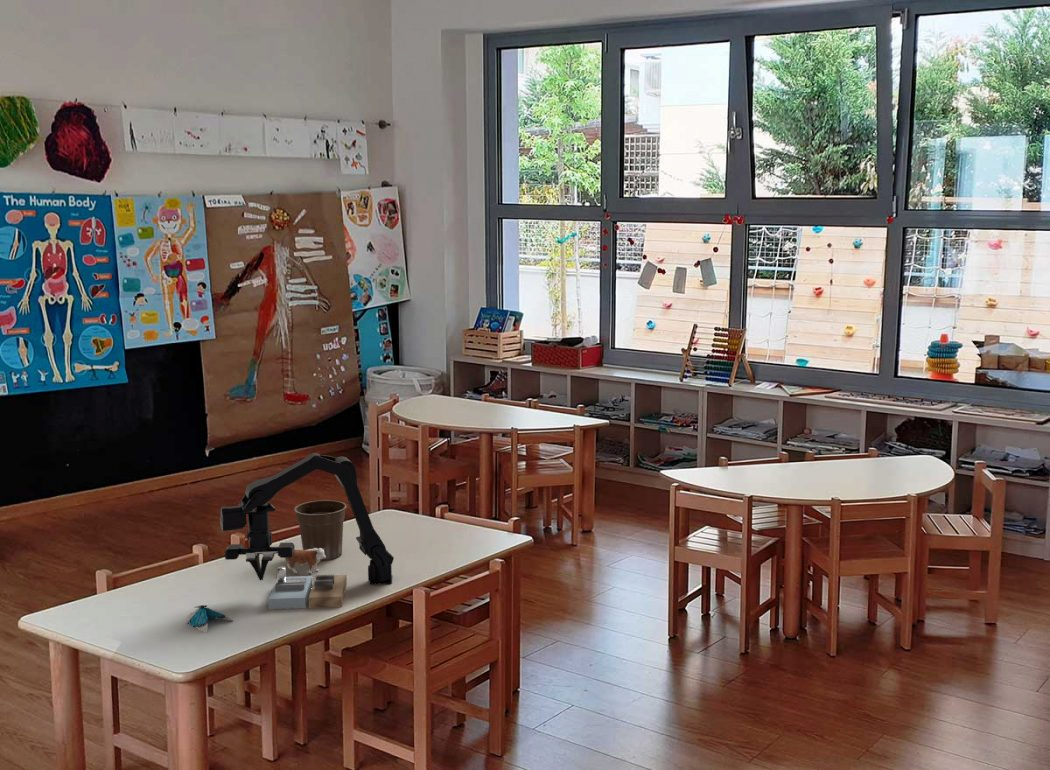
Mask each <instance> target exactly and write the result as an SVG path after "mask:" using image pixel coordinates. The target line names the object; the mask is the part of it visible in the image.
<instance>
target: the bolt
mask: <svg viewBox="0 0 1050 770" xmlns="http://www.w3.org/2000/svg"><path fill="white" fill-rule="evenodd" d="M286 572H287V568H286V566H278V567H276V576H277V577H276V580H277V582H276V581H275V582H276V584H292V583H304V587H305V585H306V582H305V579H297V580H286V577H287V573H286Z"/></svg>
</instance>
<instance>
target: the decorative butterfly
mask: <svg viewBox="0 0 1050 770" xmlns="http://www.w3.org/2000/svg"><path fill="white" fill-rule="evenodd" d="M193 608H195V609H196V610H194V611H192V612H190V613H189V614H188V616H187V619H186V625H188V624H189V626H190V625H191V626H190V627H192V626H193V627H192V628H195V629H196V628H198V629H197V630H199V631H200V630H201V631H200V632H202V631H203V632H202V633H204V634H206V633H207V631H208V628H209V627H208V624H209V623H208V622H209V620H208V618H209V619H218V620H221V619H223V621H228V620H230V621H229V622H234V620H233V619H232V618H231V617H229V616H227V615H225V614H224V613H221V612H219V611H216V610H213V609H211V608H209V607H208V605H205V604H202V605H196V606H193Z"/></svg>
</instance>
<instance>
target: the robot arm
mask: <svg viewBox="0 0 1050 770" xmlns="http://www.w3.org/2000/svg"><path fill="white" fill-rule="evenodd" d="M315 470H320V471H321V472H322V471H323V472H325V473H329V474H331V475H334V476H335V478H336V479H337V481H338V483H339V484H340V486H341V487H342V489H343V490H344V493H345V495H346V498H347V501H348V503H349V506H350V510H351V512H352V514H353V517H354V519H355V522H356V525H357V527H358V530H359V536H356V537H355V540H356V541H357V543H358V544H359V550H360V551H361V552H362V553H363V554H364V556H367V557H368V558H369V559H370V560H369V565H368V566H367V575H368V576H367V579H368V581H369V585H390V584H392V583H393V578H394V577H393V573H392V572H393V570H392V569H393V568H392V566H393V562H394V558H395V557H394V556H393V555H392V554H391V552H389V551H388V550H387V547H386V545H385V543H384V542H383V539H381V537H380V536H379V534H378V532H377V531H376V530H375V528H374V526H373V522H372V520H371V518H370V516H369V512H368V510H367V507H366V504H365V502H364V500H363V497H362V495H361V491H360V489H359V487H358V475H357V469H356V466H355V464H354V463H353V462H352V461H351V460H350V459H348V457H346V456H338V457H335V456H331V455H326V454H325V455H323V454H320V453H317V452H313V453H310V454H309V455H308V456H306V457H305V458H303V459H301V460H299V461H297V462H296V463H294V464H292V465H290V466H289V467H287V468H285V469H283V470H282V471H281V470H280V472H277V473H276V474H274V475H272V476H269V477H264V478H261V479H257V480H255V481H253V482H250V483H248V484H247V485H246V488H245V494H244V495H243V497H242V499H241V500H240V501H239V502H238V505H234V506H221V507H220V516H219V525H220V529H221V532H223V533H225V532H230V531H239V530H244V529H243V528H245V527H246V526H248V529H247V531H246V540H247V541H248V546H249V547H243V545H242V544H241V543H236V544H235V543H233V544H232V543H231V544H230V543H229V545H228V546H227V547H226V549H225V550H224V559H225V560H228V561H229V560H238V558H239V557H240V556H241V555H242V556H243V555H244V556H245V557H246V558H245V562H248V563H249V564H250V566H251V567H252V568H253V570H254V572H255V574H256V575H257V578H258V580H259V581H263V580H264V578H265V574H266V570H267V566H268V564H269V562H272V561H273V559H274V557H275V554H277V556H278V557H279V558H281V559H283V558H284V559H285V558H290V557H293V554H294V552H295V550H296V549H295V544H294V543H293V542H280V543H279V545H278V546H272V545H273V532H272V531H270V518H269V512H275V511H276V508H275V506H274V505H273V504H272V503H271V502H270V501H271V500H272V499H273V498H274V497H276V495H277V494H278V493H279V492H280V491H281V490H283V489H284V488H286V487H287V486H289V485H291V484H293V483H295V482H297V481H298V480H300V479H301V478H304V477H305V476H307V475H309V474H311V473H312V472H314V471H315ZM247 524H248V525H247ZM260 555H262V558H261V560H260Z"/></svg>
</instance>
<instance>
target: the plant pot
mask: <svg viewBox="0 0 1050 770" xmlns="http://www.w3.org/2000/svg"><path fill="white" fill-rule="evenodd" d="M346 509H347V504H346V503H345V502H342V501H339V500H332V499H321V500H320V499H319V500H313V501H311V500H310V501H308V502H303V503H301V504H298V505H296V506H295V507H294V510H293V511H294V512H295V514H296V521H297V523H298V526H299V532H300V538H301V545H302V550H309V549H314V548H317V549H319V548H322V549H324V548H325V550H324V554H325V556H326V558H325V559H320V562H323V561H324V562H326V560H327V561H331V560H334V559H337V558H339V557H340V556H342V555H343V538H344V537H343V536H344V535H343V534H344V533H343V531H344V520H345V517H346V516H345V515H346V514H345V513H346Z"/></svg>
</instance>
